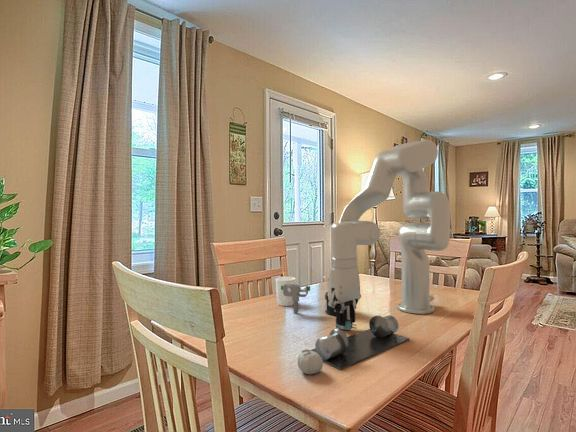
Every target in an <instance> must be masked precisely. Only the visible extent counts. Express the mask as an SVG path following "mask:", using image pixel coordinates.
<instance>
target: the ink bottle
mask: <svg viewBox="0 0 576 432" xmlns="http://www.w3.org/2000/svg"><path fill="white" fill-rule="evenodd" d="M328 280H329V277H328V278H327V281H328ZM328 302H329V299H328V291H326V292H325V294H324V311H325V314H329V315H330V316H331V315H332V316H336V311H334V309H333V308H332V307H331V306H329V305H328ZM346 308H347V307H346Z"/></svg>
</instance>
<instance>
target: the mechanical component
mask: <svg viewBox="0 0 576 432" xmlns="http://www.w3.org/2000/svg"><path fill="white" fill-rule="evenodd" d="M288 288H290V289H291V291H288V290H287V289H288ZM281 290H283V294H284V296H289V297H292V301H293V304H294V305H293V315H297V314H299V302H300V298H306V297H307V296H308V294H309V292H310V291H311V286H310V285H305V287H304V288H303V289H302V287H301V286H300V284H296V283H295V284H284V285H281ZM304 293H305V294H304Z"/></svg>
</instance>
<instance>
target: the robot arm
mask: <svg viewBox="0 0 576 432" xmlns="http://www.w3.org/2000/svg"><path fill="white" fill-rule="evenodd" d="M438 154H439V149H438V146H437V144H436V143H435V142H434V141H432V140H431V139H423V140H422V139H421V140H417V141H411V142H407V143H402V144H397V145H395V146H393V147H391V148H390V149H388V150H383V151H381V152H378V154H377V155H376V156H375V158H374V160H373V163H372V165H371V167H370V170H369V174H368V176H367V178H366V181H365V183H364V186H363V188H362V190H360V191H359V192H358V193H357V194H356V195H355V196H354V197H353V198H352V199H351V201H349V202H348V203H347V205H346V206H345V207H344V209H343V212H342V214H341V216H340V219H339V222H336V223H333V224H332V225H331V227H330V240H331V241H330V243H331V268H330V269H329V273H328V274H329V275H328V278H329V280H328V279H327V292H328V299H329V302H328V305H329V306H331V307H332V308H333V309H334V311H336V315H335V317H336V318H335V319H336V320H335V324H336V323H337V324H338V325H341V326H345V313H344V302H347V301H350V300H352V301H351V305H349V311H350V319H352V322H353V324H355V322H356V309H357V304H358V302H359V301H360V299H361V298H362V295H361V281H360V280H361V278H360V274H359V273H360V272H359V268H358V258H357V256H358V253H357V249H358V248H357V247H358V246H371V245H374V244H375V243H377V242H378V241H379V240H380V237H381V229H380V228H381V227H379V225H378V224H376V223H375V222H373V221H370V220H369V221H368V220H360V219H361V217H362V216H363V214H365V213H366V212H368V211H369V210H371V209H372V208H374V207H376V206H378V205H380V204H383V203H384V202H385V201H386V200H387V199H389V198H390V194H391V191H392V188H393V185H394V183H395V179H396V177H397V176H399V175H400V177H401V180H402V209H403V215H404V216H405V217H407V218H409V219H414V220H416V219H420V220H422V219H423V220H424V219H425V220H429V222H419V221H418V222H416V221H415V222H407V223H404V224H403V225H401V227H400V228H399V229H398V235H397V236H398V241H399V247H400V255H401V302H399V303H397V305H396V306H397V307H396V308H397V309H398V310H399V311H402V312H404V313H408V314H413V315H414V314H415V315H417V314H418V315H427V314H432V313H434V311H435V307H434V306H433V304H431V301H434V300H435V296H434V295H432V294H431V295H430V259H429V257H428V254H427V252H426V251H432V252H433V251H435V252H438V251H439V252H441V251H444V250H446V249H447V248H448V246H449V244H450V237H451V204H450V201H449V198H448V196H447V195H446V194H445V193H444V192H441V191H435V190H434V191H429V182H428V181H429V180H428V176H427V174H426V172H425V171H424V169H425V168H427V167H429V166H431V165H433V164H434V162H436V160H437V158H438ZM336 300H337V301H336ZM337 303H338V304H340V307H339V306H338V305H337ZM346 309H347V308H346Z"/></svg>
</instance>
